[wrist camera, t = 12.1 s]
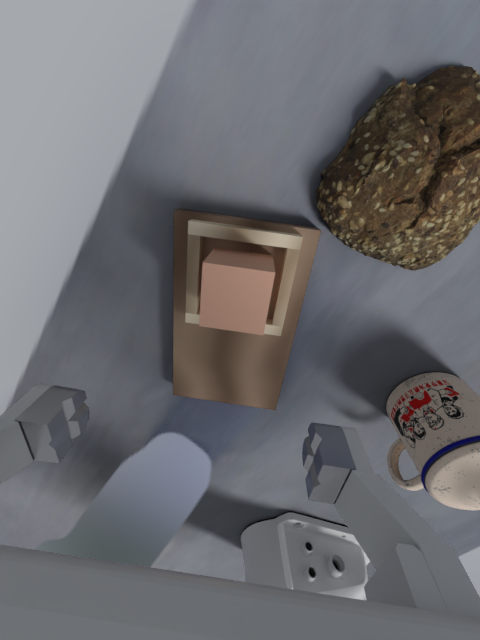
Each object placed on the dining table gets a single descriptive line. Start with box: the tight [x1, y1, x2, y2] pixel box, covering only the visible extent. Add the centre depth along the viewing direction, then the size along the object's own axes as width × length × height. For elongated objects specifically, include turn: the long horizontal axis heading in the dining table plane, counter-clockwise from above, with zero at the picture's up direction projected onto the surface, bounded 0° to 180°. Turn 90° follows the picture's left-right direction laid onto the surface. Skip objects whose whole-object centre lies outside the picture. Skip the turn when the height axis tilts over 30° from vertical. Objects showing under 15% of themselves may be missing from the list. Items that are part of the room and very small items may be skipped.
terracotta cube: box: [199, 247, 275, 335], centre depth 21 cm, size 5×5×5 cm
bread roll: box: [316, 65, 480, 270], centre depth 18 cm, size 13×12×5 cm
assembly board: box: [173, 209, 321, 410], centre depth 26 cm, size 12×20×3 cm, turn 173°
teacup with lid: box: [386, 372, 480, 510], centre depth 25 cm, size 12×9×12 cm
